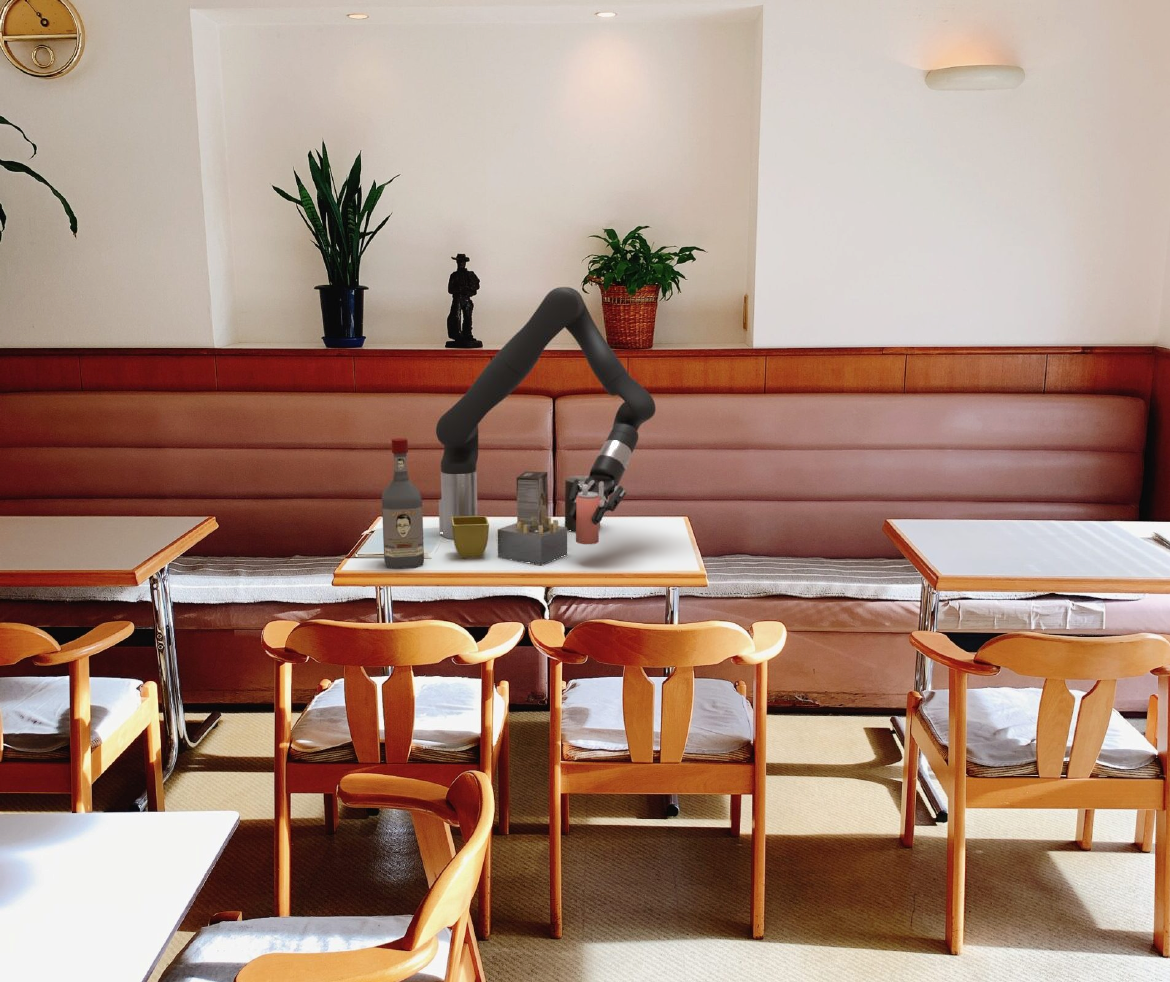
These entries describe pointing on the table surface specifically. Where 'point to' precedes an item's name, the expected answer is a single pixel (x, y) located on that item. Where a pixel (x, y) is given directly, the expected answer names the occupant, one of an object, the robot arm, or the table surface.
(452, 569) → the table surface
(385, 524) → the liquor
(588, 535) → the spout can
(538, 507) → the coffee box
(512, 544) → the grey block
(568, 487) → the pillar candle
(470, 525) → the flower pot
